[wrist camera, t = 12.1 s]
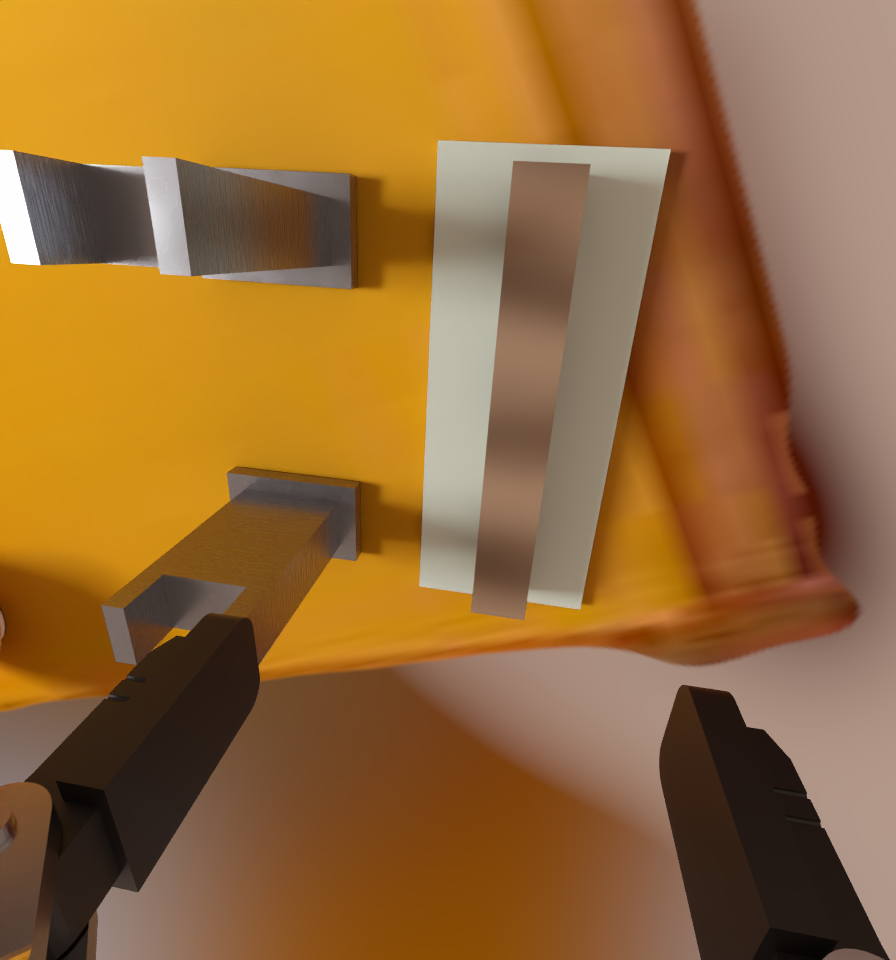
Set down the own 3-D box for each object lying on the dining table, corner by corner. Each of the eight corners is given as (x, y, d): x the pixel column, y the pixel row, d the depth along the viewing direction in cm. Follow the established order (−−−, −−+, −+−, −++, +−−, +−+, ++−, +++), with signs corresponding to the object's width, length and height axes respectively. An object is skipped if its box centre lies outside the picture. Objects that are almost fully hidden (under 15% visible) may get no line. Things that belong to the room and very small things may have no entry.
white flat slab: (440, 142, 24) (438, 140, 23) (667, 151, 23) (670, 149, 22) (421, 580, 34) (419, 586, 33) (579, 603, 32) (579, 609, 32)
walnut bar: (516, 171, 23) (512, 160, 21) (584, 174, 23) (590, 164, 20) (476, 581, 32) (471, 612, 30) (525, 588, 32) (524, 620, 29)
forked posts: (200, 169, 26) (-61, 106, 15) (356, 176, 25) (204, 115, 14) (243, 536, 35) (99, 675, 23) (361, 552, 34) (270, 705, 22)
